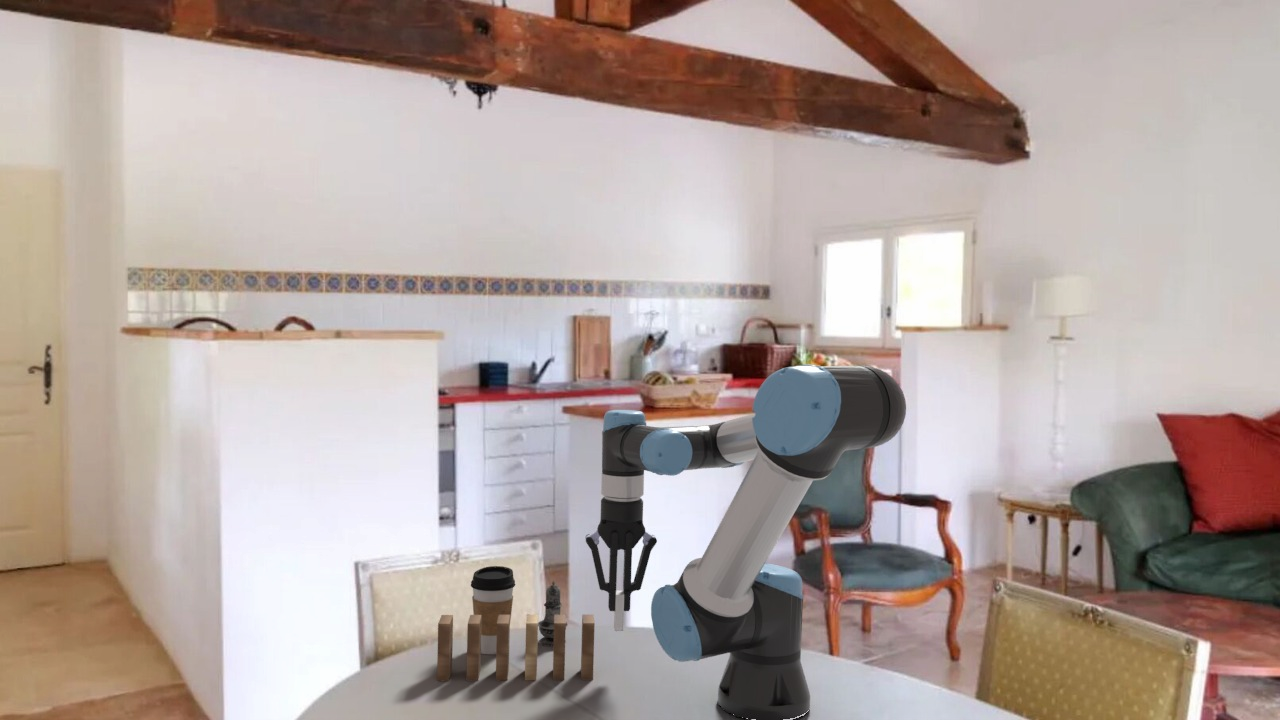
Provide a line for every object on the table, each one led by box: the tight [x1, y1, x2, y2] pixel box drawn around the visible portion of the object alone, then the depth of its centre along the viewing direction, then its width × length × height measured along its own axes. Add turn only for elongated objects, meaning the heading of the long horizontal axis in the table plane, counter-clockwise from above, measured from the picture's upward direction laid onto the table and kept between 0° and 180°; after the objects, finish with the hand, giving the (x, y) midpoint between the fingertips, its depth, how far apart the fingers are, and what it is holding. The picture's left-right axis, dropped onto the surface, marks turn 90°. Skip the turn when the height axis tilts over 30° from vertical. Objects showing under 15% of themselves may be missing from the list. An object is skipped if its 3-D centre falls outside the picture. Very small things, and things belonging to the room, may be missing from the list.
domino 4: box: [552, 614, 567, 681], centre depth 167 cm, size 2×5×10 cm, turn 5°
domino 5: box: [580, 614, 596, 681], centre depth 167 cm, size 2×5×10 cm, turn 5°
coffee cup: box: [470, 565, 516, 655], centre depth 179 cm, size 8×8×15 cm
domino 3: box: [495, 615, 511, 681], centre depth 166 cm, size 2×5×10 cm, turn 5°
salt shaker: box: [538, 581, 569, 647], centre depth 184 cm, size 6×6×12 cm
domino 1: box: [436, 614, 454, 682], centre depth 165 cm, size 2×5×10 cm, turn 5°
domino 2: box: [466, 614, 482, 682], centre depth 166 cm, size 2×5×10 cm, turn 5°
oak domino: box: [524, 614, 539, 681], centre depth 166 cm, size 2×5×10 cm, turn 5°
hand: (618, 628), depth 168 cm, fingers closed
